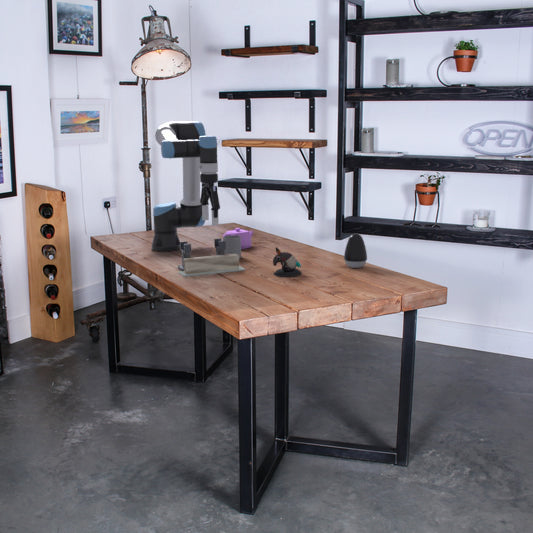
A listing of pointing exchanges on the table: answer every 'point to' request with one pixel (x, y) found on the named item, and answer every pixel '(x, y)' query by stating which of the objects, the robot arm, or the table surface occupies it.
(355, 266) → the black speaker
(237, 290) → the table surface
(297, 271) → the figurine
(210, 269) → the rail
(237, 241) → the cup
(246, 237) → the teapot
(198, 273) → the mat
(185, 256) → the rack
